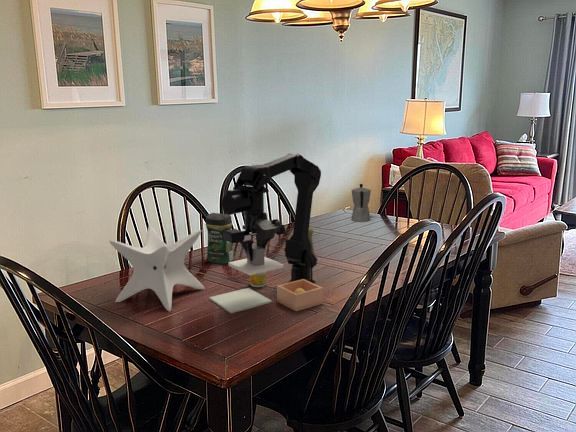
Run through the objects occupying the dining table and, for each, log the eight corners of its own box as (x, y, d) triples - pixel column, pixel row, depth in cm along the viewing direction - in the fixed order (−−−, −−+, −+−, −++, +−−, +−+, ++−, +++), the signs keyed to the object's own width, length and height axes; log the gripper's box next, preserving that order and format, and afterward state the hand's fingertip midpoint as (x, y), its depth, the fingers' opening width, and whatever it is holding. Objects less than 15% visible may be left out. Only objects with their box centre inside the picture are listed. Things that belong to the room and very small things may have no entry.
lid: (261, 258, 173) (261, 240, 171) (283, 267, 163) (283, 248, 162) (228, 265, 166) (227, 246, 165) (249, 275, 156) (248, 255, 155)
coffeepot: (350, 216, 277) (351, 181, 273) (369, 217, 276) (370, 181, 272) (351, 224, 262) (352, 187, 258) (371, 224, 261) (372, 187, 257)
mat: (248, 289, 177) (248, 287, 177) (271, 302, 166) (271, 300, 166) (209, 299, 170) (209, 297, 170) (231, 313, 159) (230, 311, 158)
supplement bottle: (248, 283, 183) (247, 255, 181) (263, 281, 185) (262, 253, 183) (253, 288, 178) (252, 260, 176) (268, 286, 180) (267, 257, 178)
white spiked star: (154, 282, 186) (149, 225, 182) (204, 289, 179) (201, 230, 174) (114, 303, 168) (108, 240, 164) (169, 311, 161) (164, 246, 156)
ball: (301, 296, 168) (301, 285, 167) (308, 300, 165) (308, 288, 164) (291, 299, 166) (291, 288, 165) (298, 302, 163) (298, 291, 163)
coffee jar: (204, 262, 207) (201, 214, 202) (215, 256, 214) (213, 210, 209) (225, 265, 202) (223, 216, 198) (236, 259, 209) (235, 212, 205)
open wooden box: (303, 293, 173) (303, 278, 172) (323, 303, 165) (323, 287, 164) (277, 301, 167) (276, 285, 166) (296, 311, 159) (295, 295, 158)
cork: (305, 251, 219) (304, 224, 216) (317, 254, 215) (317, 226, 212) (295, 255, 214) (295, 227, 212) (308, 257, 210) (307, 229, 208)
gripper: (241, 218, 149) (242, 272, 152) (296, 209, 160) (296, 260, 163) (221, 211, 158) (223, 263, 161) (274, 203, 169) (275, 252, 172)
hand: (255, 260), depth 164 cm, fingers closed on lid, 3 cm apart
